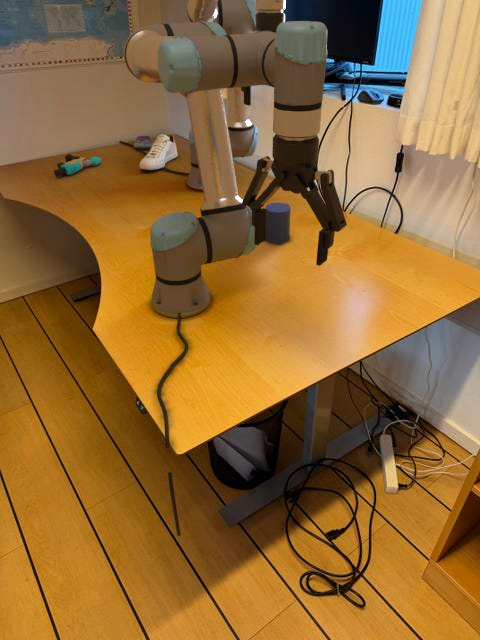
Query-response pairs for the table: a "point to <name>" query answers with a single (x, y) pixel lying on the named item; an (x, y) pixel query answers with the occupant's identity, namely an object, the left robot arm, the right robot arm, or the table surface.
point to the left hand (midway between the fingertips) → (289, 252)
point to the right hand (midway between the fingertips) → (268, 102)
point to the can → (277, 223)
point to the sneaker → (160, 153)
